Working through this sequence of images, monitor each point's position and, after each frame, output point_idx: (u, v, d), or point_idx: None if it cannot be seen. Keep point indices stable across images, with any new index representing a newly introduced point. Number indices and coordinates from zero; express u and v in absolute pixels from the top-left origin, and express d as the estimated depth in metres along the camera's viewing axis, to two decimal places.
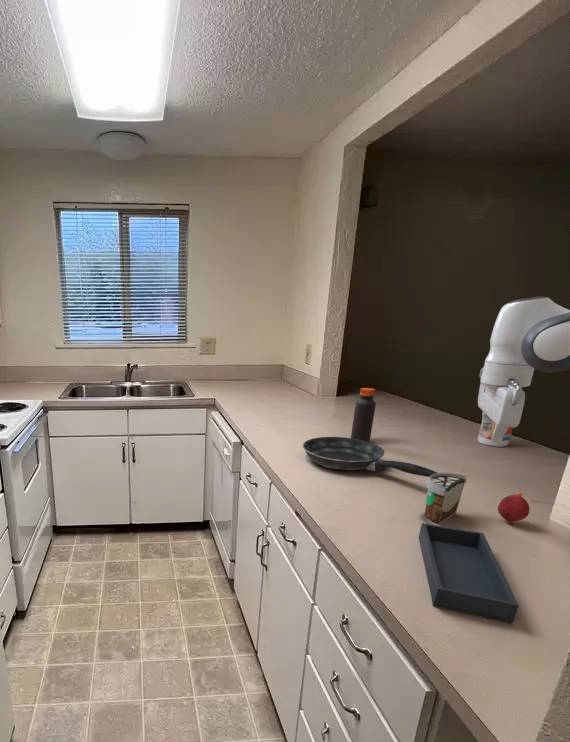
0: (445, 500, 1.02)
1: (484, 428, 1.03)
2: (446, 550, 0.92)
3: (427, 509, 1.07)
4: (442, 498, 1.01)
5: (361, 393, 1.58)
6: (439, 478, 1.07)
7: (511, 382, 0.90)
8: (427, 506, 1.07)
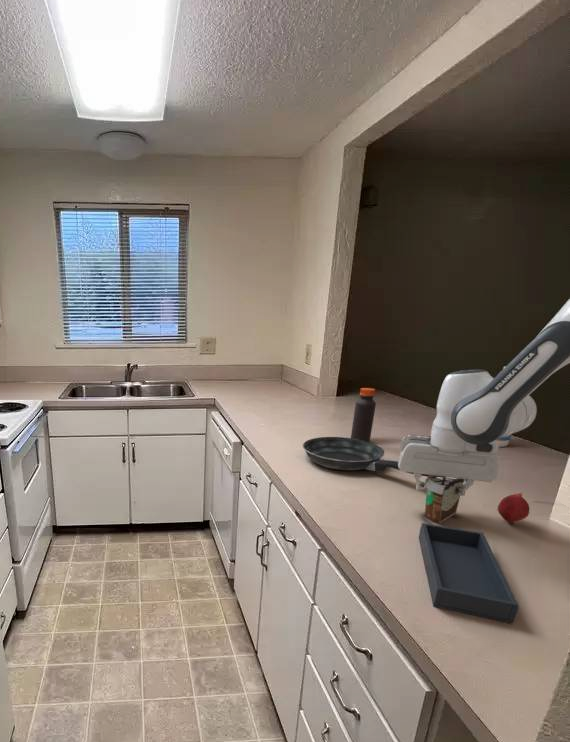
0: (444, 499, 1.02)
1: (457, 491, 1.06)
2: (446, 550, 0.92)
3: (427, 509, 1.07)
4: (441, 497, 1.02)
5: (361, 393, 1.58)
6: (438, 477, 1.08)
7: None
8: (427, 506, 1.07)
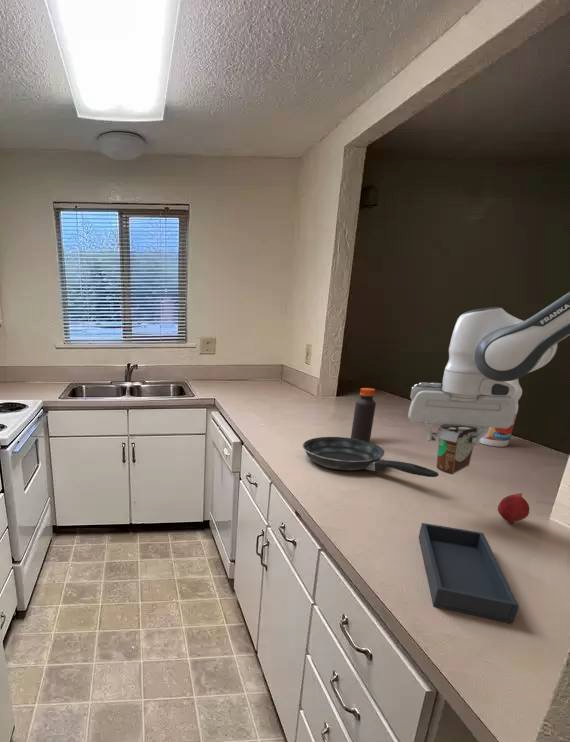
0: (457, 447, 0.98)
1: (470, 440, 1.01)
2: (446, 550, 0.92)
3: (439, 460, 1.02)
4: (455, 445, 0.97)
5: (361, 393, 1.58)
6: (450, 428, 1.03)
7: None
8: (439, 457, 1.02)
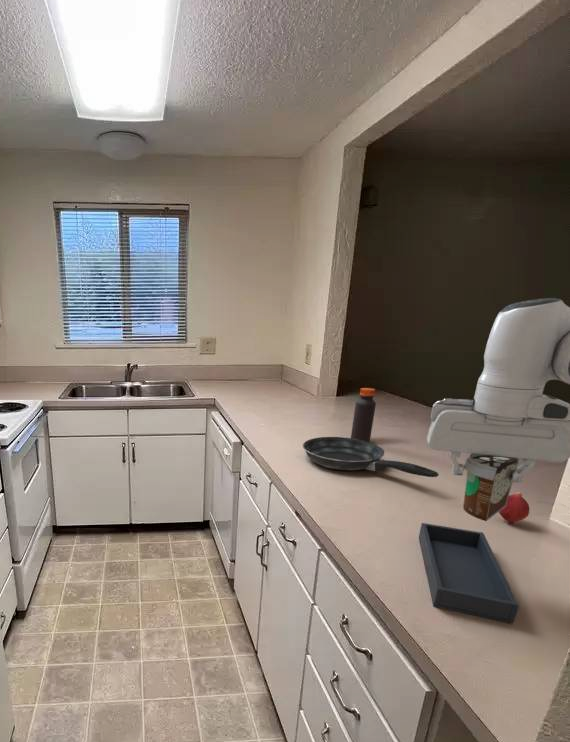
0: (494, 486, 0.73)
1: (509, 476, 0.76)
2: (446, 550, 0.92)
3: (468, 501, 0.78)
4: (491, 484, 0.72)
5: (361, 393, 1.58)
6: (482, 458, 0.79)
7: None
8: (467, 497, 0.78)
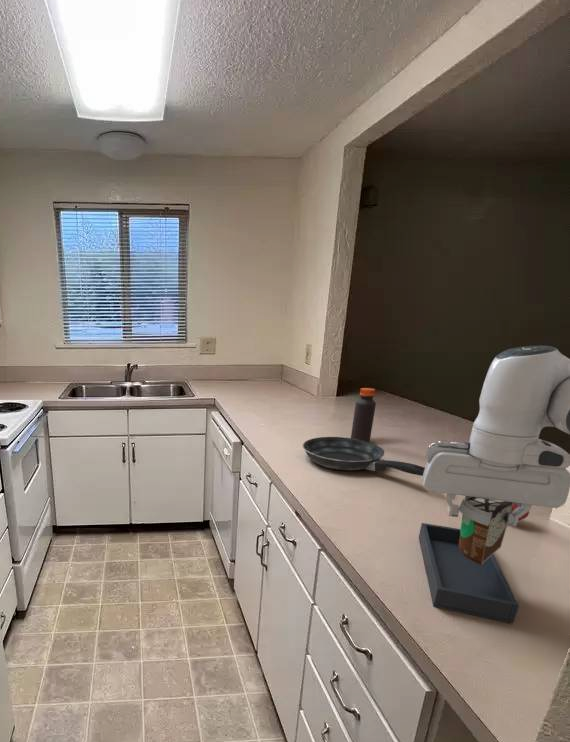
0: (489, 531, 0.73)
1: (505, 518, 0.76)
2: (446, 550, 0.92)
3: (463, 543, 0.77)
4: (486, 529, 0.72)
5: (361, 393, 1.58)
6: (478, 499, 0.78)
7: None
8: (463, 539, 0.77)
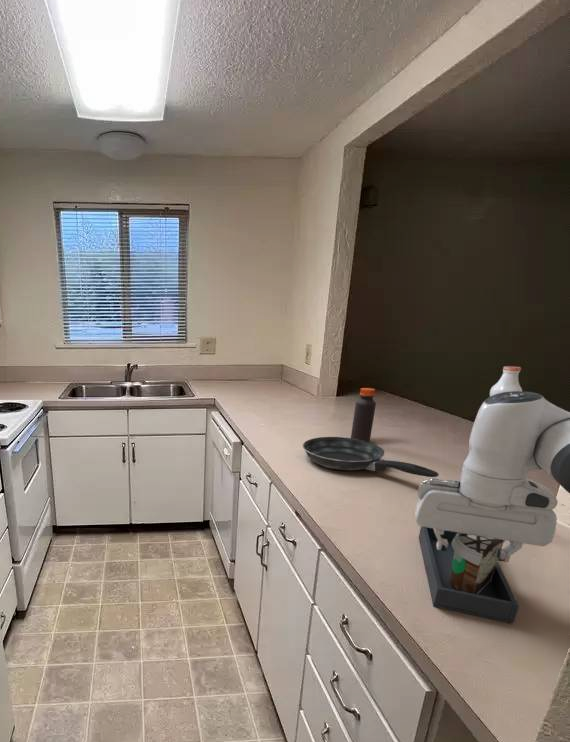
0: (480, 569, 0.75)
1: (497, 554, 0.78)
2: None
3: (454, 578, 0.80)
4: (477, 568, 0.74)
5: (361, 393, 1.58)
6: (470, 535, 0.80)
7: None
8: (454, 574, 0.80)
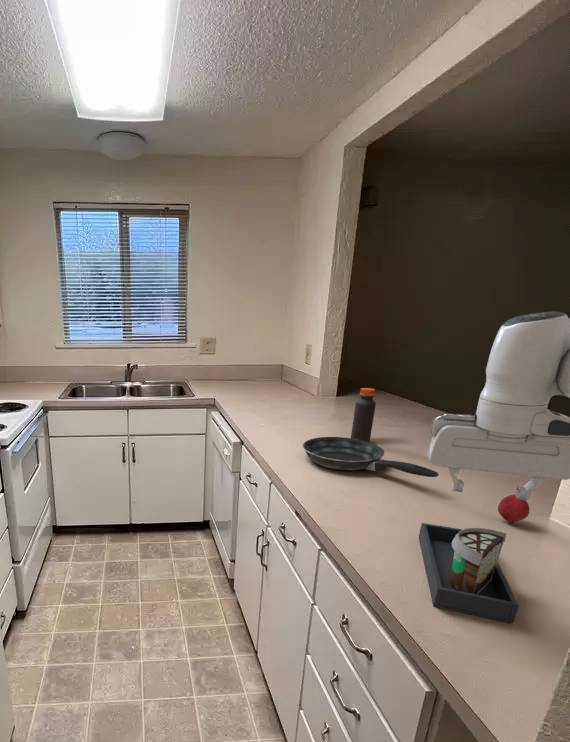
0: (480, 569, 0.75)
1: (516, 493, 0.74)
2: (446, 550, 0.92)
3: (454, 578, 0.80)
4: (477, 568, 0.74)
5: (361, 393, 1.58)
6: (470, 535, 0.80)
7: None
8: (454, 574, 0.80)
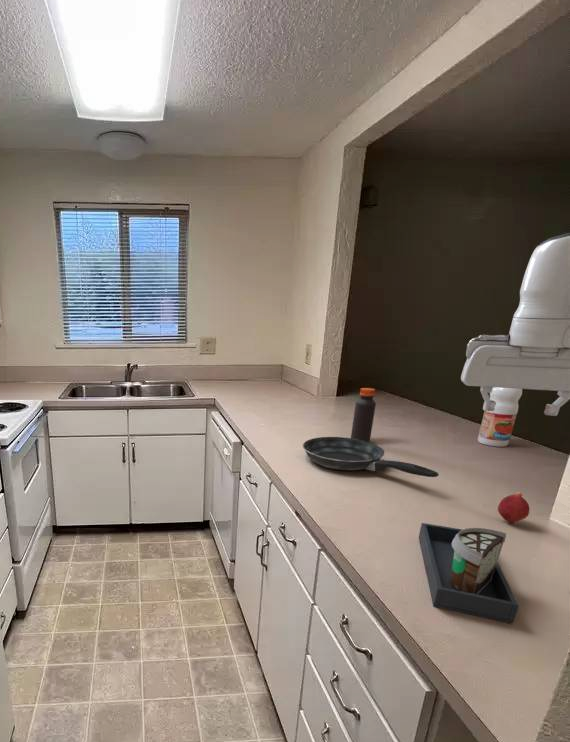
0: (480, 569, 0.75)
1: (545, 410, 0.79)
2: (446, 550, 0.92)
3: (454, 578, 0.80)
4: (477, 568, 0.74)
5: (361, 393, 1.58)
6: (470, 535, 0.80)
7: None
8: (454, 574, 0.80)
